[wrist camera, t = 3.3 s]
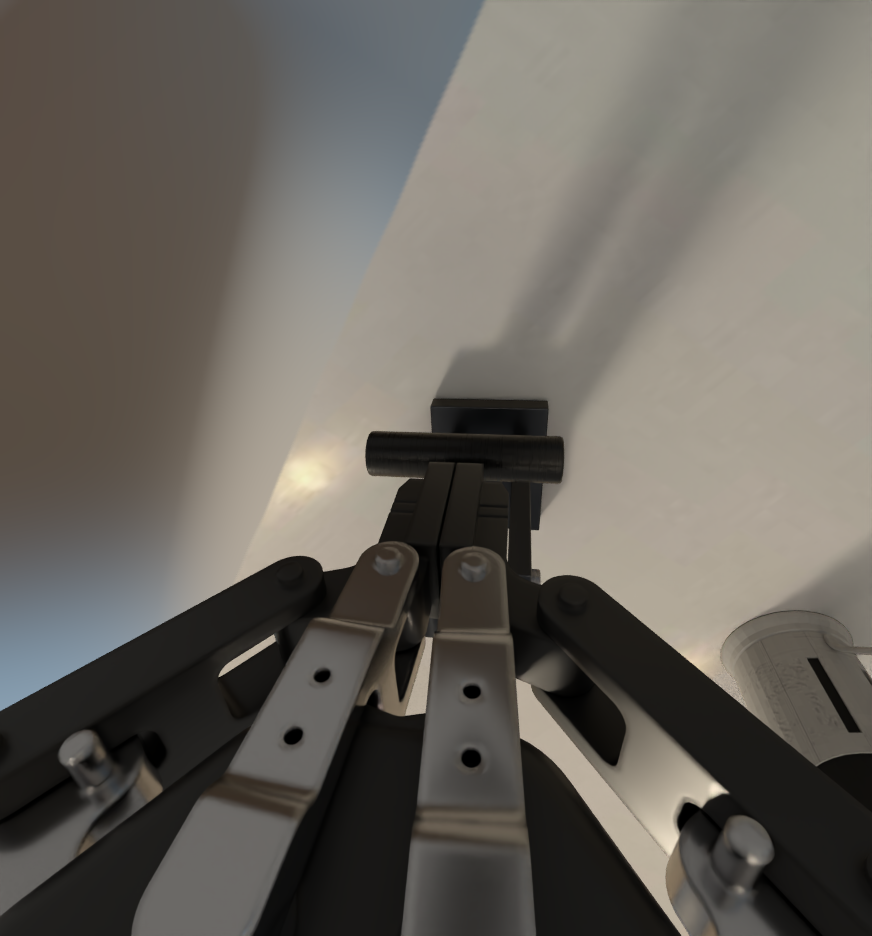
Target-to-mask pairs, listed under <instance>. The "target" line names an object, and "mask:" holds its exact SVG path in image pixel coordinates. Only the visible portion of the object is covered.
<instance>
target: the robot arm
mask: <svg viewBox="0 0 872 936" xmlns="http://www.w3.org/2000/svg"><path fill="white" fill-rule="evenodd" d="M508 508H509V493H508V491H507V490H506V488H505V487H504V485H503V483H502V482H484V464H479V463H457V466H456V463H450V462H429V464H428V467H427V470H426V474H425V477H424V479H411V478H410V479H409V480H408V481H407V482H406V483H404V484H403V485H402V486H401V487H400V488H399V489H398V492H397V495H396V497H395V500H394V503H393V505H392V508H391V512H390V513H389V516H388V518H387V521H386V524H385V526H384V529H383V531H382V534H381V537H380V539H379V542H378V544H376V545H374V546H372V547H370V548H368V549H367V550H366V551H364V552H363V554H362V555H361V556H360V558H359V560H358V562H357V564H356V565H355V566H352V567H348V568H344V569H338V570H332V571H326V572H323V570H322V566H321V564H320V563H319V562H318V561H316V560H315V559H313V558H310V557H307V556H293V557H288V558H285V559H282V560H279V561H277V562H275V563H273V564H271V565H270V566H268V567H266V568H264V569H262V570H260V571H259V572H257V573H255V574H253V575H251V576H249V577H247V578H246V579H244V580H242V581H240V582H238V583H236V584H235V585H233V586H231V587H229V588H227V589H225V590H223V591H222V592H220V593H218V594H216V595H214V596H212V597H210V598H209V599H207V600H205V601H203V602H201V603H199V604H198V605H196V606H194V607H192V608H190V609H188V610H187V611H185V612H183V613H181V614H179V615H177V616H175V617H174V618H172V619H170V620H168V621H166V622H164V623H162V624H161V625H159V626H157V627H155V628H153V629H151V630H150V631H148V632H146V633H144V634H142V635H140V636H139V637H137V638H135V639H133V640H131V641H130V642H127V643H126V644H124V645H122V646H120V647H118V648H116V649H114V650H113V651H111V652H109V653H107V654H105V655H103V656H101V657H100V658H98V659H96V660H94V661H92V662H90V663H89V664H87V665H85V666H83V667H81V668H80V669H77V670H76V671H74V672H72V673H70V674H68V675H66V676H65V677H63V678H61V679H59V680H57V681H55V682H54V683H52V684H50V685H48V686H46V687H44V688H42V689H40V690H39V691H37V692H35V693H33V694H31V695H29V696H28V697H26V698H24V699H22V700H20V701H18V702H16V703H15V704H13V705H11V706H9V707H8V708H5V709H3V710H2V711H0V936H681V934H680V933H679V932H678V930H677V929H676V928H675V926H674V925H673V923H672V922H671V921H670V919H669V918H668V916H667V915H666V914H665V912H664V911H663V910H662V908H661V907H660V905H659V904H658V903H657V901H656V900H655V898H654V897H653V896H652V894H651V893H650V892H649V890H648V889H647V887H646V886H645V885H644V883H643V882H642V881H641V879H640V878H639V876H638V875H637V874H636V872H635V871H634V869H633V868H632V867H631V865H630V864H629V863H628V861H627V860H626V858H625V857H624V856H623V854H622V853H621V851H620V850H619V849H618V847H617V846H616V844H615V843H614V842H613V840H612V839H611V838H610V836H609V835H608V833H607V832H606V831H605V829H604V828H603V826H602V825H601V824H600V822H599V821H598V820H597V818H596V817H595V815H594V814H593V813H592V811H591V810H590V808H589V807H588V806H587V804H586V803H585V801H584V800H583V799H582V797H581V796H580V795H579V793H578V792H577V790H576V789H575V788H574V786H573V785H572V783H571V782H570V781H569V779H568V778H567V777H566V775H565V774H564V773H563V772H562V771H561V770H560V768H559V767H558V766H557V765H556V764H555V763H554V762H553V761H552V760H551V759H550V758H549V757H547V756H546V755H545V754H544V753H543V752H542V751H540V750H539V749H537V748H536V747H534V746H533V745H531V744H530V743H528V742H526V741H524V740H523V739H521V738H520V733H519V719H518V705H517V691H516V678H517V679H519V680H521V681H524V682H526V683H529V684H531V688H532V691H533V693H534V695H535V697H536V698H537V700H538V701H539V702H540V703H541V704H542V706H543V707H544V708H545V709H546V710H547V712H548V713H549V714H550V715H551V716H552V718H553V719H554V720H555V721H556V722H557V724H558V725H559V726H560V727H561V728H562V730H563V731H564V732H565V733H566V735H567V736H568V737H569V738H570V739H571V741H572V742H573V743H574V744H575V745H576V747H577V748H578V749H579V750H580V751H581V753H582V754H583V755H584V756H585V757H586V759H587V760H588V761H589V762H590V763H591V765H592V766H593V767H594V768H595V770H596V771H597V772H598V773H599V774H600V776H601V777H602V778H603V779H604V780H605V782H606V783H607V784H608V785H609V786H610V788H611V789H612V790H613V791H614V792H615V794H616V795H617V796H618V797H619V798H620V800H621V801H622V802H623V803H624V805H625V806H626V807H627V808H628V809H629V811H630V812H631V813H632V814H633V815H634V817H635V818H636V819H637V820H638V821H639V823H640V824H641V825H642V826H643V827H644V829H645V830H646V831H647V832H648V833H649V835H650V836H651V837H652V838H653V840H654V841H655V842H656V843H657V844H658V846H659V847H660V848H661V849H662V850H663V852H664V853H665V854H666V855H667V856H668V858H669V861H668V864H667V867H666V887H667V892H668V896H669V899H670V902H671V904H672V906H673V909H674V911H675V913H676V914H677V916H678V918H679V919H680V921H681V922H682V924H683V926H684V927H685V929H686V930H687V932H688V934H689V936H872V812H871V811H869V810H868V809H867V808H866V807H865V806H863V805H862V804H861V803H860V802H859V801H857V800H856V799H855V798H854V797H853V796H851V795H850V794H849V793H848V792H846V791H845V790H844V789H843V788H842V787H840V786H839V785H838V784H837V783H836V782H834V781H833V780H832V779H831V778H830V777H828V776H827V775H826V774H825V773H823V772H822V771H821V770H820V769H819V768H817V767H816V766H815V765H814V764H813V763H811V762H810V761H809V760H808V759H807V758H805V757H804V756H803V755H802V754H801V753H799V752H798V751H797V750H796V749H794V748H793V747H792V746H791V745H790V744H788V743H787V742H786V741H785V740H784V739H782V738H781V737H780V736H779V735H778V734H776V733H775V732H774V731H773V730H771V729H770V728H769V727H768V726H767V725H765V724H764V723H763V722H762V721H761V720H759V719H758V718H757V717H756V716H755V715H753V714H752V713H751V712H750V711H749V710H747V709H746V708H745V707H744V706H742V705H741V704H740V703H739V702H738V701H736V700H735V699H734V698H733V697H732V696H730V695H729V694H728V693H727V692H726V691H724V690H723V689H722V688H721V687H719V686H718V685H717V684H716V683H715V682H713V681H712V680H711V679H710V678H709V677H707V676H706V675H705V674H704V673H703V672H701V671H700V670H699V669H698V668H697V667H695V666H694V665H693V664H692V663H690V662H689V661H688V660H687V659H686V658H684V657H683V656H682V655H681V654H680V653H678V652H677V651H676V650H675V649H674V648H672V647H671V646H670V645H669V644H668V643H666V642H665V641H664V640H663V639H661V638H660V637H659V636H658V635H657V634H655V633H654V632H653V631H652V630H651V629H649V628H648V627H647V626H646V625H645V624H643V623H642V622H641V621H640V620H638V619H637V618H636V617H635V616H634V615H632V614H631V613H630V612H629V611H628V610H626V609H625V608H624V607H623V606H622V605H620V604H619V603H618V602H617V601H616V600H614V599H613V598H612V597H611V596H609V595H608V594H607V593H606V592H605V591H603V590H602V589H601V588H600V587H599V586H597V585H596V584H594V583H593V582H591V581H589V580H587V579H585V578H582V577H578V576H572V575H563V576H557V577H553V578H551V579H549V580H547V581H546V582H545V583H543V584H542V585H540V584H537V583H534V582H531V581H528V580H526V579H524V578H522V577H520V576H519V575H518V574H516V573H515V572H514V571H513V570H512V569H511V567H510V566H509V564H508V562H507V535H508ZM429 618H433V619H438V626H437V631H435V632H434V635H433V643H432V653H431V664H430V674H429V684H428V695H427V705H426V713H424V714H416V715H409V716H405V713H406V709H407V706H408V703H409V699H410V696H411V692H412V689H413V686H414V682H415V679H416V676H417V672H418V669H419V665H420V662H421V659H422V655H423V652H424V648H425V644H426V643H425V634H426V631H427V626H428V622H429ZM273 634H274V635H275V639H276V642H274V643H273V644H271V645H270V646H268V647H266V648H265V649H263V650H262V651H260V652H259V653H257V654H256V655H254V656H252V657H251V658H249V659H248V660H246V661H245V662H243V663H241V664H240V665H238V666H237V667H235V668H234V669H232V670H231V671H229V672H227V673H226V674H224V675H223V676H220V677H218V676H219V673H220V672H221V670H222V669H223V667H224V666H225V665H226V664H228V663H229V662H230V661H232V660H233V659H235V658H236V657H238V656H240V655H241V654H243V653H244V652H246V651H248V650H249V649H251V648H252V647H254V646H255V645H257V644H259V643H260V642H262V641H263V640H265V639H267V638H268V637H270V636H271V635H273Z"/></svg>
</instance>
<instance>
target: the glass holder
mask: <svg viewBox="0 0 872 936" xmlns="http://www.w3.org/2000/svg"><path fill="white" fill-rule="evenodd" d="M855 654H864V655H872V647H853V640H852V638H851V635H850V633H849V631H848V630H847V629H846V628H845V627H844V626H843V625H842V624H841V623H839V622H838V621H837V620H835V619H832V618H830V617H828V616H825V615H822V614H819V613H813V612H807V611H786V612H778V613H772V614H768V615H765V616H761V617H758V618H756V619H754V620H751V621H749V622H747V623H745V624H744V625H742V626H740V627H739V628H738V629H736V630H735V631H734V632H733V633H732V634H731V635H730V636H729V637H728V638H727V639H726V641H725V643H724V645H723V647H722V650H721V660H722V664H723V666H724V668H725V669H726V671H727V672H728V673H729V674H730V675H731V676H732V677H733V678H734V679H735V680H736V682H737V684H738V687H739V689H740V692H741V694H742V697H743V699H744V702H745V704H746V707H747V709H748V710H749V711H750V712H751V713H752V714H753V715H755V716H756V717H757V718H758V719H759V720H761V721H762V722H763V723H764V724H765V725H767V726H768V727H769V728H770V729H771V730H773V731H774V732H775V733H776V734H778V735H779V736H780V737H781V738H782V739H784V740H785V741H786V742H787V743H788V744H790V745H791V746H792V747H793V748H794V749H796V750H797V751H798V752H799V753H801V754H802V755H803V756H804V757H805V758H807V759H808V760H809V761H810V762H811V763H813V764H814V765H815V766H816V767H817V768H819V769H820V770H821V771H822V772H823V773H825V774H826V775H827V776H828V777H830V778H831V779H832V780H833V781H834V782H836V783H837V784H838V785H839V786H840V787H842V788H843V789H844V790H845V791H846V792H848V793H849V794H850V795H851V796H853V797H854V798H855V799H856V800H857V801H859V802H860V803H861V804H862V805H863V806H865V807H866V808H867V809H868V810H869V811H871V812H872V678H871V677H870V675H869V674H868V673H867V671H866V670H865V668H864V667H863V665H862V664H861V662H860V661H859V659H858V658H857V656H856V655H855Z"/></svg>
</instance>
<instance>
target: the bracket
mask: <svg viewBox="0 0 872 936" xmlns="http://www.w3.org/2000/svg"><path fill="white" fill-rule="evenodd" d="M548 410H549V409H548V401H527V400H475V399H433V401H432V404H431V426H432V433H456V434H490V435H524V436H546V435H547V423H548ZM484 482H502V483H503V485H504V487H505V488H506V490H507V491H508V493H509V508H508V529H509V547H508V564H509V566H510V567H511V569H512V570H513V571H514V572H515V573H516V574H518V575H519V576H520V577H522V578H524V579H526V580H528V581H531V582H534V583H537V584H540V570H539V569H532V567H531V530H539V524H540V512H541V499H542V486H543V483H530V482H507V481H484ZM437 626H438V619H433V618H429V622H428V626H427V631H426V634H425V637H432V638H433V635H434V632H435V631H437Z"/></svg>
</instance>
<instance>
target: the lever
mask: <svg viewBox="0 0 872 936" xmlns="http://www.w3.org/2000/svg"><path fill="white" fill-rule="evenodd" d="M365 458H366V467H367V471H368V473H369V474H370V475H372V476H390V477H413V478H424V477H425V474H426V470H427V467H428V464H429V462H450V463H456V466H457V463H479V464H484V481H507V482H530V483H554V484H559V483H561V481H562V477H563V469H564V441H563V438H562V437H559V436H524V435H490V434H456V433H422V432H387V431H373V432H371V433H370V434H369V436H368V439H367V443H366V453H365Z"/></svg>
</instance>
